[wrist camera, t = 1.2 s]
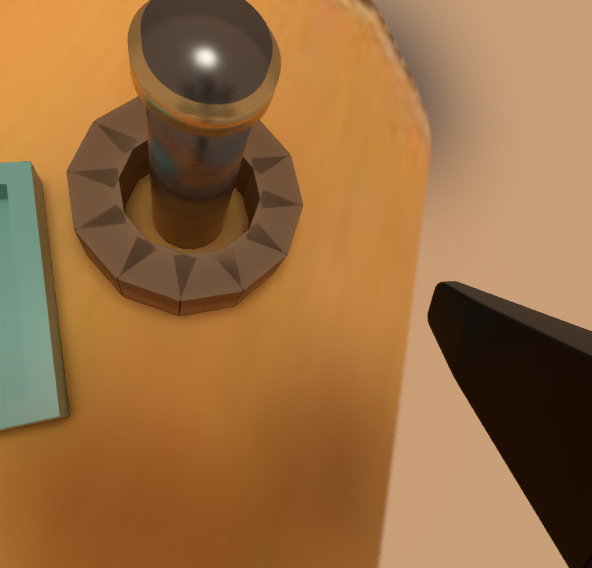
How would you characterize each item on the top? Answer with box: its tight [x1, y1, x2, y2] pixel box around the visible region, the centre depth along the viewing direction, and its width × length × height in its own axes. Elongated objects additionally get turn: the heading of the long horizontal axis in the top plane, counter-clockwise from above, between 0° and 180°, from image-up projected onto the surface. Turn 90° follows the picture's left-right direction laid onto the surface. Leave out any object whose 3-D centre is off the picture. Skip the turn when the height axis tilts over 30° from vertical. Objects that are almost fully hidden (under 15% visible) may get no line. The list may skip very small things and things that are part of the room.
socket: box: [67, 96, 303, 316], centre depth 22 cm, size 10×10×3 cm
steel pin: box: [128, 0, 281, 249], centre depth 18 cm, size 4×4×12 cm
